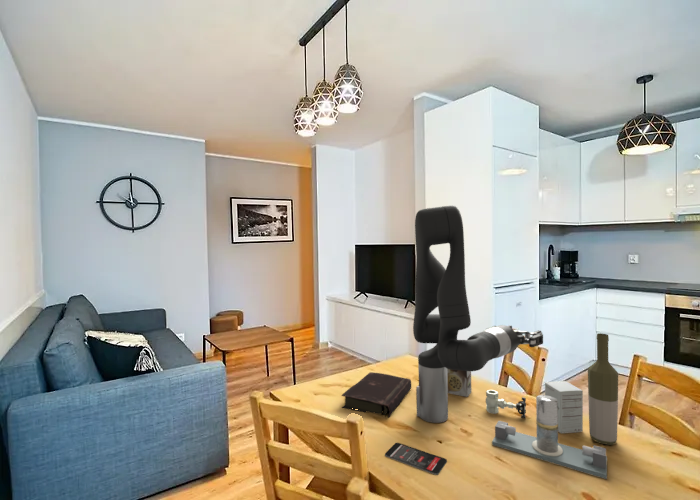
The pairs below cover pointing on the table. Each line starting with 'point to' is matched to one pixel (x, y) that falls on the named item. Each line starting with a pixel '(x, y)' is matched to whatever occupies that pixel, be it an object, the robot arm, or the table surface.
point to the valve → (502, 403)
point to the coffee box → (459, 382)
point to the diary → (377, 393)
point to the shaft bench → (566, 455)
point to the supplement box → (567, 405)
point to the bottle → (603, 395)
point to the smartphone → (416, 458)
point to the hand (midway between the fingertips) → (525, 331)
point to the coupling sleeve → (547, 423)
